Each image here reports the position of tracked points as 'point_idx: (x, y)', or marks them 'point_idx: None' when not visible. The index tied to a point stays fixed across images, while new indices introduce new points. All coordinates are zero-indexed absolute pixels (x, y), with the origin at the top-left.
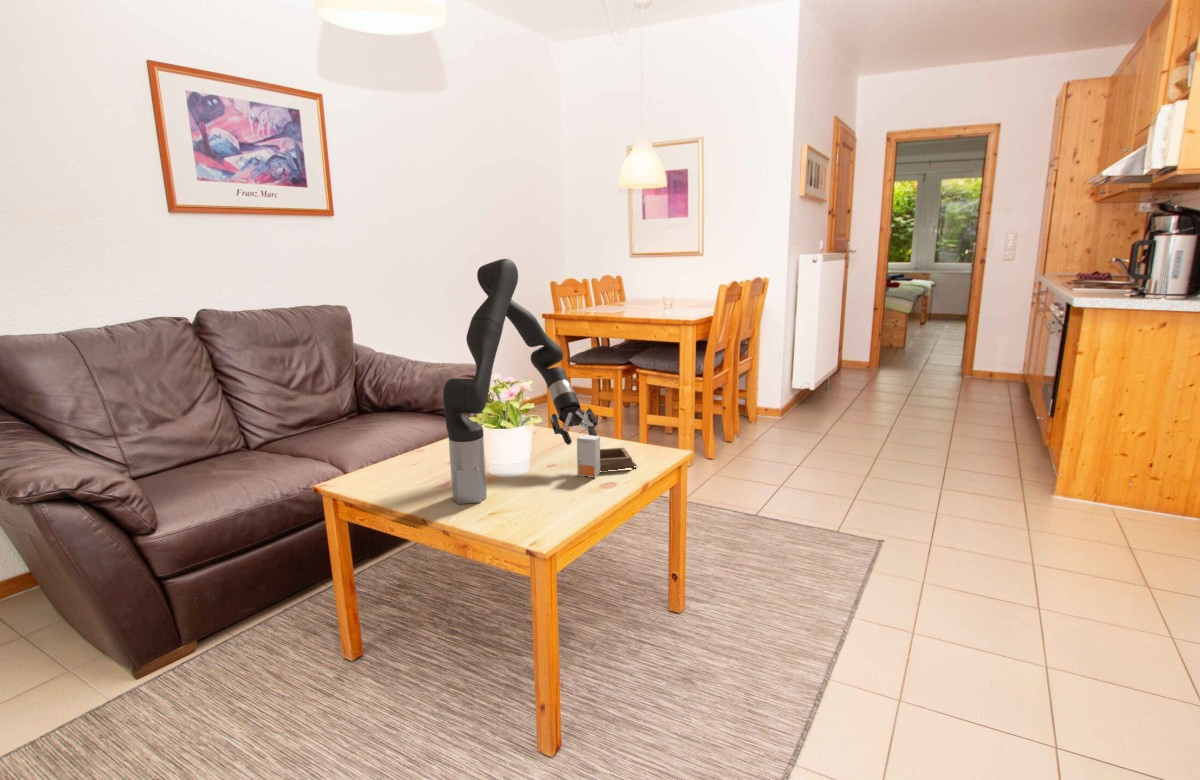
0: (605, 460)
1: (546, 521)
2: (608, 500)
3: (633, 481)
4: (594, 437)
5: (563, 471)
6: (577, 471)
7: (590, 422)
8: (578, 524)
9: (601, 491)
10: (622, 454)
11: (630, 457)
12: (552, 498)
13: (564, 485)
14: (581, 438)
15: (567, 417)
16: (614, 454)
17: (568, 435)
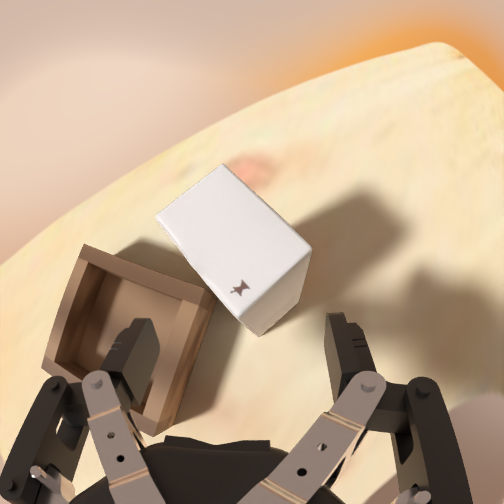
0: (168, 276)
1: (446, 88)
2: (299, 97)
3: (164, 172)
4: (198, 203)
5: (321, 382)
6: (299, 298)
7: (89, 400)
8: (393, 56)
9: (288, 145)
10: (70, 338)
11: (83, 249)
12: (428, 167)
13: (375, 238)
14: (286, 226)
15: (308, 490)
16: (84, 374)
17: (343, 342)
